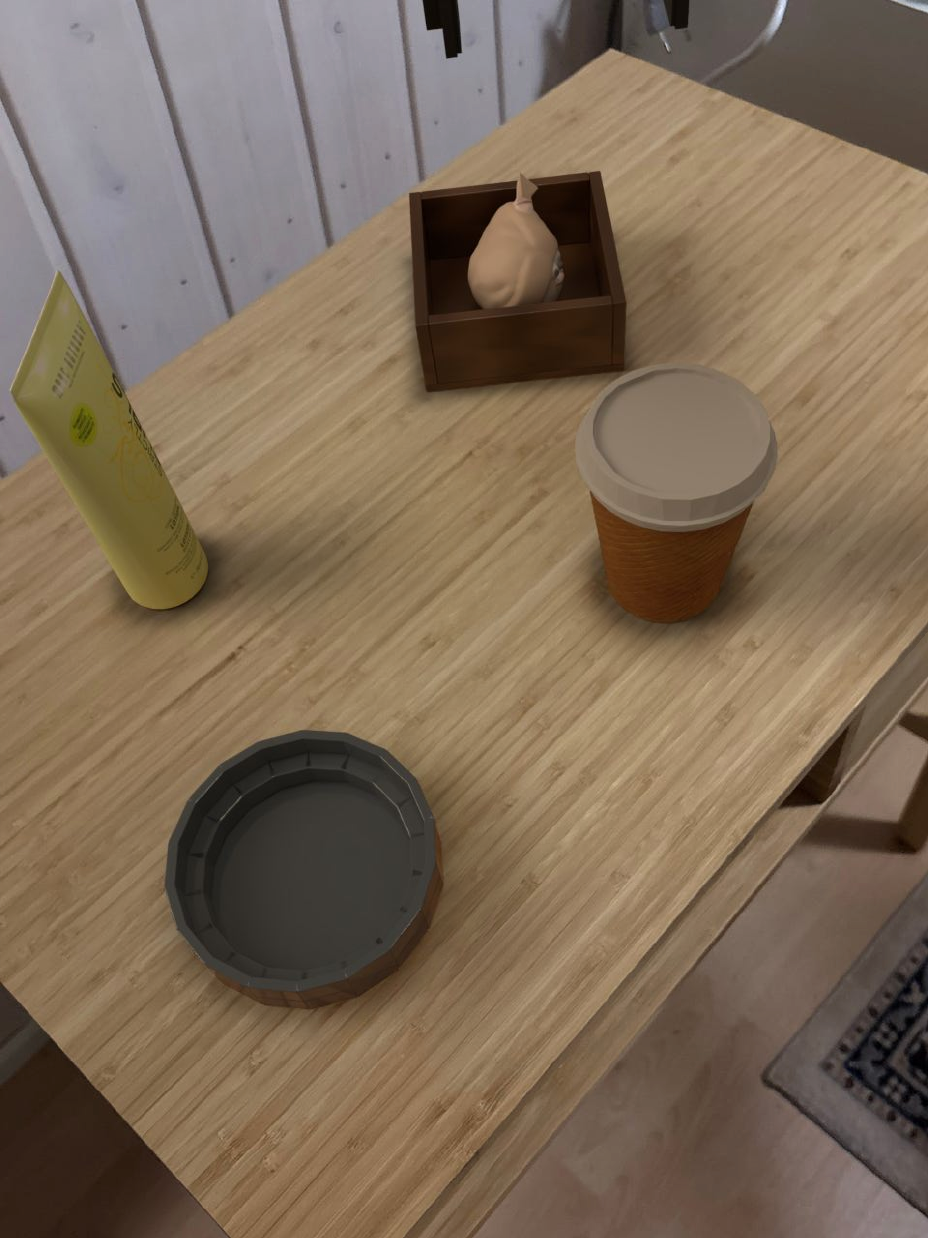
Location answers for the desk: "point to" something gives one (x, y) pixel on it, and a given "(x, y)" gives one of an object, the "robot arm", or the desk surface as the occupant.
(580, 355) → the holder
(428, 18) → the robot arm
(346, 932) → the bowl
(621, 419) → the disposable coffee cup
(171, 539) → the tube
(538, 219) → the garlic bulb
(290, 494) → the desk surface
